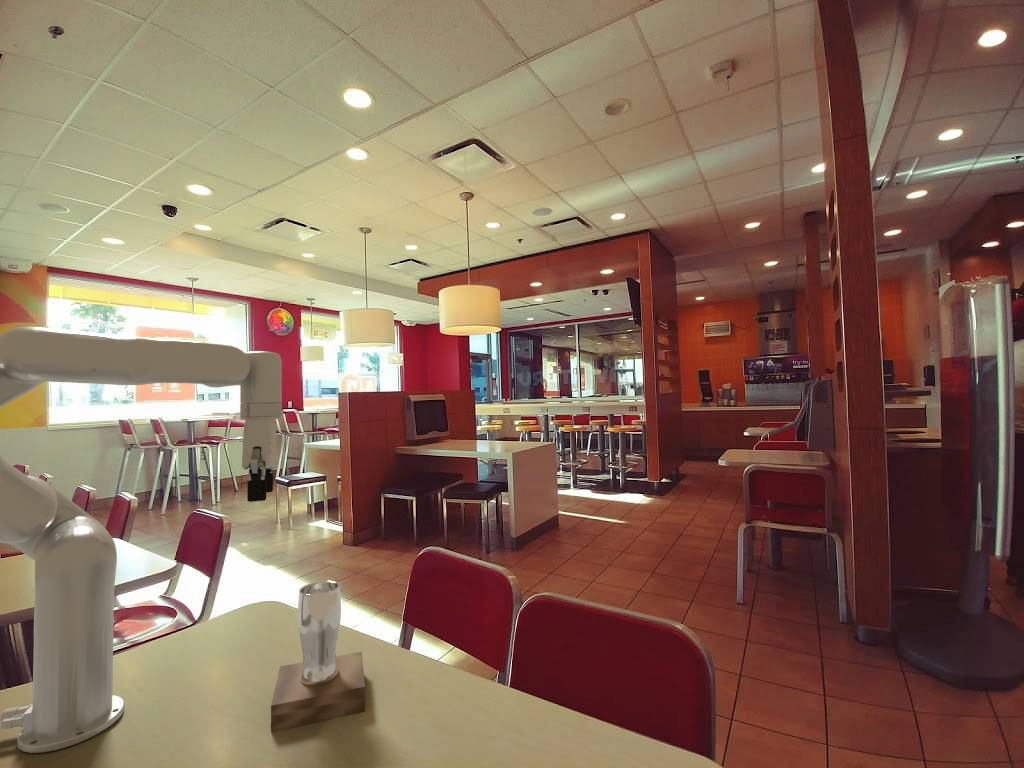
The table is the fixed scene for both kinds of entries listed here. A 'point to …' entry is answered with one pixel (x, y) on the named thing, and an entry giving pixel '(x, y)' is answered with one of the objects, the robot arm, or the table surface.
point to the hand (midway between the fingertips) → (260, 496)
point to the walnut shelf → (318, 694)
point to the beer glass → (319, 631)
